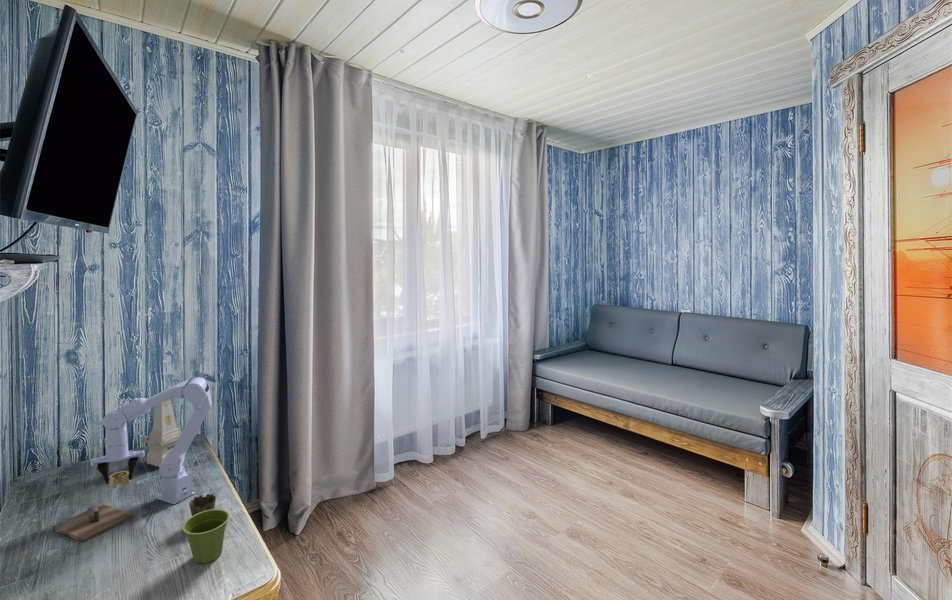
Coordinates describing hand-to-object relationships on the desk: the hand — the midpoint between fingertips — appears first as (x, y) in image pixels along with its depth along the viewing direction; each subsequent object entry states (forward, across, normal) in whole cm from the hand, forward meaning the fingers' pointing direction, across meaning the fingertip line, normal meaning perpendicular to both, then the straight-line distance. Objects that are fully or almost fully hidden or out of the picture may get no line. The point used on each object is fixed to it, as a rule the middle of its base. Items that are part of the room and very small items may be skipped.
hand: (119, 480), depth 153 cm
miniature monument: (+9, -11, -31) cm, 34 cm away
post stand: (+9, +6, +9) cm, 14 cm away
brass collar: (+1, 0, 0) cm, 1 cm away
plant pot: (+9, -26, +45) cm, 53 cm away
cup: (+9, -25, +25) cm, 37 cm away
